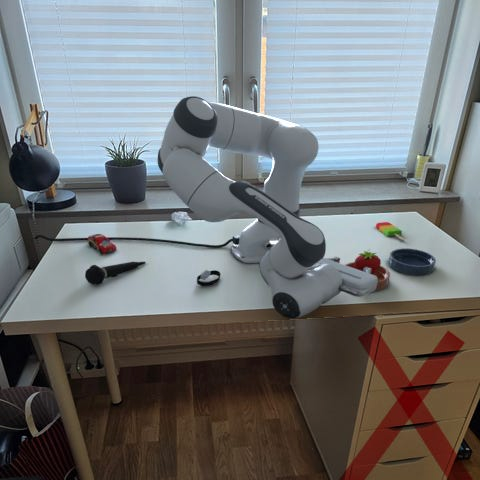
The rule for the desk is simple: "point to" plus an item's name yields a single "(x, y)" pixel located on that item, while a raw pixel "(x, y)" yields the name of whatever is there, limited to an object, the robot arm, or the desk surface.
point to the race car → (101, 244)
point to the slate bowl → (412, 261)
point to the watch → (205, 275)
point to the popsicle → (389, 229)
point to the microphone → (109, 271)
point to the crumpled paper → (180, 217)
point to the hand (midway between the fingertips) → (352, 264)
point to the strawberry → (367, 262)
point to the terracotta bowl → (378, 276)
